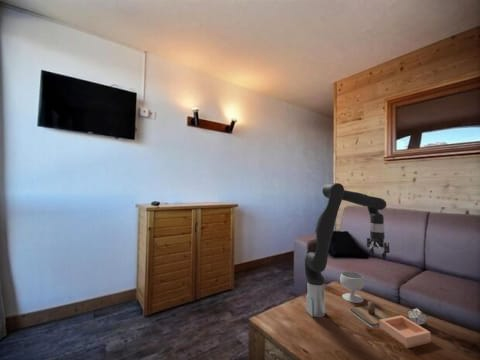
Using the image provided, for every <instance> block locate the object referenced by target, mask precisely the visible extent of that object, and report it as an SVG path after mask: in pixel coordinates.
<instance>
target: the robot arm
mask: <svg viewBox="0 0 480 360" xmlns="http://www.w3.org/2000/svg"><path fill="white" fill-rule="evenodd" d="M321 190H322V194H323V196H324V197H325V198H326V199H328V202H327V205H326V207H325V208H324V210H323V211H322V213H321V214H320V215H319V217H318V220H317V222H316V226H315V236H316V237H315V238H316V244H317V245H316V248H315V252H313V251H310V252H308V253H307V254H306V255H305V257H304V270H305V278H306V282H307V283H306V287H307V288H306V289H307V294H305V299H306V300H305V302H306V303H305V304H306V312H307V313H308V314H309V316H311V317H312V318H313V317H314V318H323V317H325V315H326V301H325V300H326V297H325V296H326V295H325V277H324V276H323V274H322V273H323V272H324V271H325V269H326V268H327V263H328V257H329V250H330V245H331V241H332V237H333V233H334V229H335V225H336V224H335V223H336V220H337V216H338V213H339V210H340V207H341V204H342V201H345V202H348V203H352V204H355V205H359V206H361V207H367V210H368V213H369V218H370V219H369V221H370V223H369V224H370V225H369V235H370V237H367V238H366V247H367V248H368V249H369V255H370V256H374V255H375V248H377V249H379V251H380V252H381V260H386V259H387V254H389V253H391V252H390V242H385V241H384V240H385V225H384V224H385V223H384V219H385V218H384V215H383V214H382V213H380V212H379V211H383V210H385V208H386V209H387V202H386V200H385V199H384V198H381V197H378V196H376V197H375V196H370V195H368V194H364V193H361V192H355V191H351V190H345V187H344V185H343V184H342V183H337V182H335V183H333V182H332V183H331V182H330V183H327V184H324V186H323V187H322V189H321Z"/></svg>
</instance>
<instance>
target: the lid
mask: <svg viewBox="0 0 480 360" xmlns="http://www.w3.org/2000/svg"><path fill="white" fill-rule="evenodd" d="M349 309H350V311H352V312H353V313H354V314H356V315H357V316H358V317H360V318H361V319H362V320H364V321H365V322H367V323H368V324H369V325H371V326H375V325H379V320H380V319H385V318H390V317H391V316H390V315H389V314H387V313H386V312H384V311H383V310H381V309H379V308H378V307H376V305H375V302H374V301H371V300H368V301H367V305H363V306H359V307H352V308H349ZM350 311H349V312H350ZM354 314H353V315H354ZM358 317H357V318H358ZM362 320H361V321H362Z"/></svg>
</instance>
